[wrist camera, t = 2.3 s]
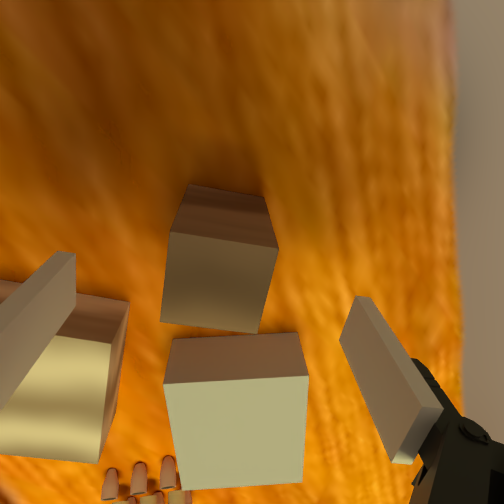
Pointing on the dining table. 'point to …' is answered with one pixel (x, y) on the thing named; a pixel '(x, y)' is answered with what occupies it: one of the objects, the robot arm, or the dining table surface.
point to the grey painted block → (237, 409)
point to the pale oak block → (69, 385)
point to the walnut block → (219, 261)
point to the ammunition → (176, 499)
